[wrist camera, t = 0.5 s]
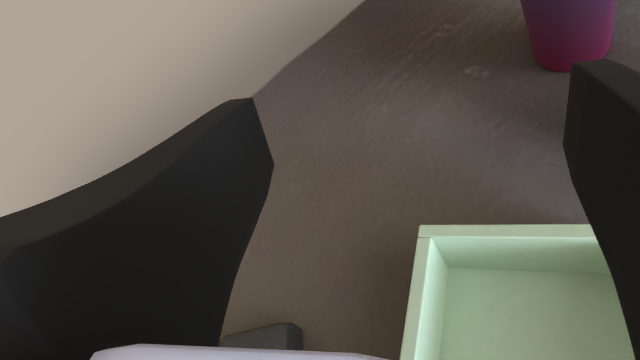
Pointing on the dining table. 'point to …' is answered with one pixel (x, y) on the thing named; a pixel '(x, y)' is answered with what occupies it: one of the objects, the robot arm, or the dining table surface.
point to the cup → (568, 30)
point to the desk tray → (512, 295)
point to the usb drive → (267, 338)
